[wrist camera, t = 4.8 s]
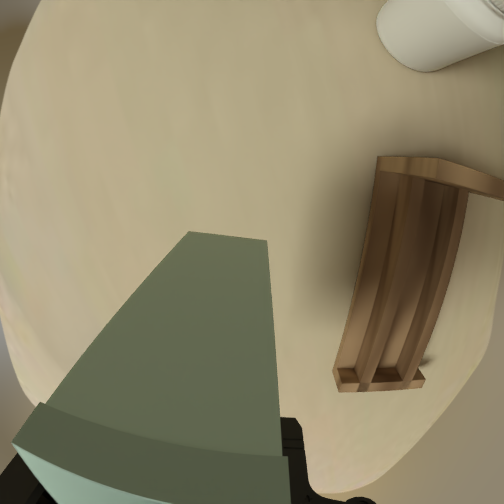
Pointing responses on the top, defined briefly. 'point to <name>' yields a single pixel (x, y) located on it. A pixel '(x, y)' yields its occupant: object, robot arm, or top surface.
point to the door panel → (172, 391)
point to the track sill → (405, 269)
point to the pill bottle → (439, 30)
